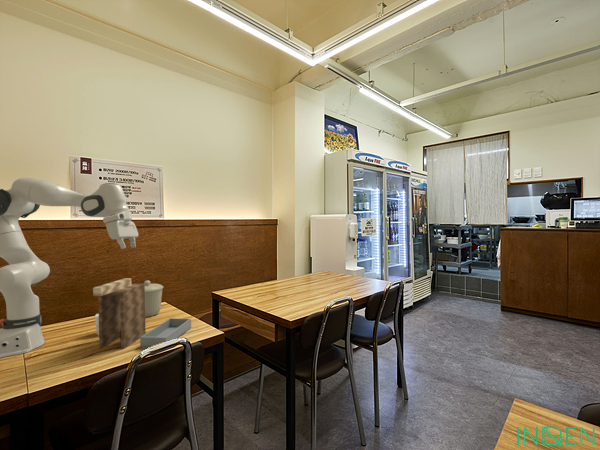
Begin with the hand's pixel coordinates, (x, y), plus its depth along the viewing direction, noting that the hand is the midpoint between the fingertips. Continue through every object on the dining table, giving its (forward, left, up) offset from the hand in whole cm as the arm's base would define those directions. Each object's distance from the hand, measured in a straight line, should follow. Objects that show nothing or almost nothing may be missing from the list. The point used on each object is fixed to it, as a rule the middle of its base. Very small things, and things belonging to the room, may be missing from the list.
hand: (128, 247), depth 132 cm
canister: (+23, +47, -46) cm, 70 cm away
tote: (+17, +2, -46) cm, 49 cm away
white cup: (-3, +31, -46) cm, 56 cm away
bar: (-4, +9, -20) cm, 22 cm away
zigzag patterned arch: (+1, +13, -46) cm, 48 cm away
